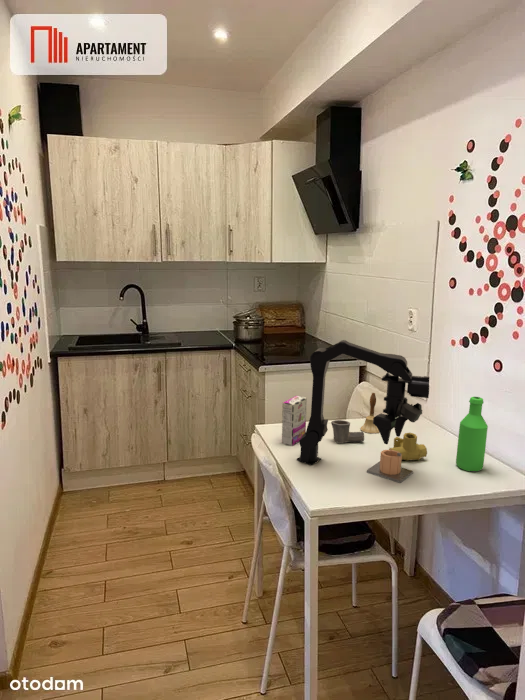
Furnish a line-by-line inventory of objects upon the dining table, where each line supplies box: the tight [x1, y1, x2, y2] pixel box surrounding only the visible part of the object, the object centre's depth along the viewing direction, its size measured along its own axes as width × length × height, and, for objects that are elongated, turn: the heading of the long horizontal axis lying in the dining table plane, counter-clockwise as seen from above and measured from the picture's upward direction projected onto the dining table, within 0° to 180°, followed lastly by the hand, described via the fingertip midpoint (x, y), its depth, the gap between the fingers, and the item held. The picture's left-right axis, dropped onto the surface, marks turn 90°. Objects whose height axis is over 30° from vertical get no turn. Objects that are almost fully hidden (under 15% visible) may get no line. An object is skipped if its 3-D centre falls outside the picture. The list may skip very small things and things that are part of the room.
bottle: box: [455, 396, 489, 472], centre depth 176 cm, size 9×9×25 cm
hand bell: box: [359, 392, 380, 434], centre depth 211 cm, size 8×8×16 cm
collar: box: [379, 449, 402, 475], centre depth 171 cm, size 6×6×7 cm
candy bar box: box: [281, 395, 307, 447], centre depth 197 cm, size 11×5×16 cm, turn 148°
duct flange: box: [366, 460, 414, 484], centre depth 172 cm, size 10×12×6 cm
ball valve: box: [388, 432, 428, 461], centre depth 185 cm, size 13×10×10 cm
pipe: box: [330, 419, 365, 444], centre depth 198 cm, size 6×13×8 cm, turn 89°
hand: (392, 440), depth 170 cm, fingers open, 9 cm apart
